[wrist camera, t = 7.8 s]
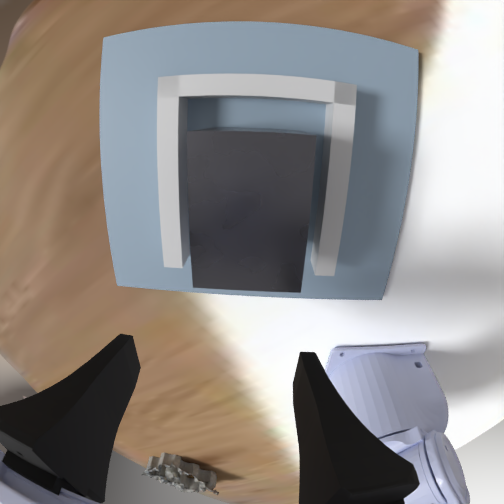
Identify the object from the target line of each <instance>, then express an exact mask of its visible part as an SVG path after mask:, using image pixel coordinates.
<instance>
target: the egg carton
mask: <svg viewBox="0 0 504 504" xmlns="http://www.w3.org/2000/svg"><path fill="white" fill-rule="evenodd" d="M142 475H146V476H149V477H151V478H152V477H153V478H155V479H156V480H159V481H160V482H161V483H166V484H168V485H170V486H174V487H175V488H177V489H178V490H180V491H181V492H195V491H196V492H199V491H200V490H203V492H204V491H205V490H206V489H207V490H209V491H211V492H213V493H214V494H216V495H218V494H219V492H217V491H216V490H213V489H214V488H215V486H216V479H217V476H216V473H215V472H214V471H206V470H202V469H200V468H199V465H197V464H194V463H186V462H184V461H182V460H181V457H180V456H178V455H171V454H167V453H161V457H160V458H157V457H154V456H151V457H149V461H148V465H147V470H145V472H143V474H142ZM187 475H193V476H194V478H188V477H187Z"/></svg>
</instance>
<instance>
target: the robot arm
mask: <svg viewBox="0 0 504 504" xmlns="http://www.w3.org/2000/svg"><path fill="white" fill-rule="evenodd" d="M425 350H426V345H425V344H424V343H421V344H408V345H393V346H374V347H339V348H334V349H332V350H331V352H330V355H329V359H328V362H327V365H326V369H325V370H324V368H323V366H322V365H321V363H320V361H319V359H318V357H317V355H316V353H315V352H300V355H299V359H298V364H297V368H296V372H295V377H294V381H293V406H294V413H295V421H296V428H297V435H298V443H299V454H300V489H299V504H470V495H469V492H468V489H467V486H466V483H465V478H464V474H463V470H462V467H461V464H460V462H459V459H458V457H457V454H456V452H455V450H454V448H453V446H452V444H451V443H450V441H449V439H448V438H447V437H446V435H445V434H444V432H445V430H446V427H447V423H448V405H447V401H446V397H445V395H444V393H443V391H442V389H441V387H440V385H439V383H438V381H437V379H436V377H435V375H434V373H433V371H432V369H431V367H430V365H429V363H428V361H427V359H426V357H425V355H424V352H425ZM342 352H344V353H342ZM140 368H141V367H140V363H139V360H138V356H137V352H136V348H135V344H134V339H133V336H131V335H125V334H120V335H118V336H117V337H116V338H115V339H114V340H112V341H111V342H110V343H109V344H108V345H107V346H105V347H104V348H103V349H102V350H101V351H100V352H99V353H97V354H96V355H95V356H94V357H93V358H91V359H90V360H89V361H88V362H87V363H85V364H84V365H83V366H81V367H80V368H79V369H77V370H76V371H75V372H73V373H72V374H71V375H69V376H68V377H66V378H65V379H63V380H61V381H60V382H58V383H57V384H55V385H53V386H51V387H49V388H47V389H45V390H43V391H41V392H39V393H37V394H35V395H33V396H30V397H28V398H25V399H23V400H20V401H17V402H13V403H10V404H6V405H3V406H0V443H1V444H2V445H3V446H4V447H5V448H6V449H7V452H6V454H5V453H3V452H2V451H1V450H0V504H101V503H103V502H104V501H105V489H106V481H107V474H108V468H109V462H110V457H111V453H112V448H113V444H114V441H115V437H116V433H117V430H118V427H119V424H120V422H121V419H122V417H123V415H124V412H125V410H126V408H127V405H128V403H129V401H130V398H131V396H132V393H133V391H134V389H135V386H136V383H137V379H138V375H139V372H140Z"/></svg>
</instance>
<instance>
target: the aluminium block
mask: <svg viewBox="0 0 504 504" xmlns="http://www.w3.org/2000/svg"><path fill="white" fill-rule="evenodd" d="M316 137H317V136H316V135H313V134H310V133H306V132H303V131H299V130H286V129H269V128H239V127H211V128H205V129H198V130H192V131H187V181H188V213H189V235H190V253H191V269H192V283H193V288H206V289H224V290H243V291H264V292H291V293H301V288H302V280H303V272H304V264H305V256H306V248H307V239H308V230H309V220H310V210H311V200H312V189H313V177H314V165H315V152H316Z"/></svg>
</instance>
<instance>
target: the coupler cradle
mask: <svg viewBox="0 0 504 504" xmlns="http://www.w3.org/2000/svg"><path fill="white" fill-rule="evenodd" d="M417 98H418V50H417V49H414V48H410V47H407V46H404V45H400V44H397V43H393V42H390V41H386V40H382V39H378V38H374V37H370V36H366V35H361V34H356V33H351V32H346V31H341V30H335V29H329V28H322V27H315V26H307V25H298V24H287V23H272V22H206V23H191V24H181V25H171V26H163V27H156V28H150V29H143V30H138V31H132V32H127V33H122V34H118V35H113V36H109V37H105V38H104V39H103V49H102V62H101V79H100V150H101V168H102V181H103V193H104V203H105V212H106V220H107V227H108V235H109V241H110V248H111V254H112V260H113V266H114V271H115V276H116V282H117V286H127V287H137V288H148V289H159V290H171V291H183V292H196V293H210V294H225V295H242V296H261V297H282V298H309V299H349V300H382V298H383V294H384V291H385V287H386V284H387V280H388V277H389V273H390V269H391V265H392V261H393V257H394V253H395V249H396V245H397V240H398V236H399V231H400V227H401V222H402V217H403V212H404V207H405V201H406V195H407V190H408V183H409V177H410V170H411V163H412V155H413V147H414V137H415V127H416V114H417ZM211 127H239V128H269V129H286V130H299V131H303V132H306V133H310V134H313V135H316V136H317V137H316V152H315V165H314V177H313V189H312V200H311V210H310V220H309V230H308V239H307V248H306V256H305V264H304V272H303V280H302V288H301V293H291V292H264V291H243V290H224V289H206V288H193V283H192V269H191V253H190V235H189V213H188V181H187V131H192V130H198V129H205V128H211Z"/></svg>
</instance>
